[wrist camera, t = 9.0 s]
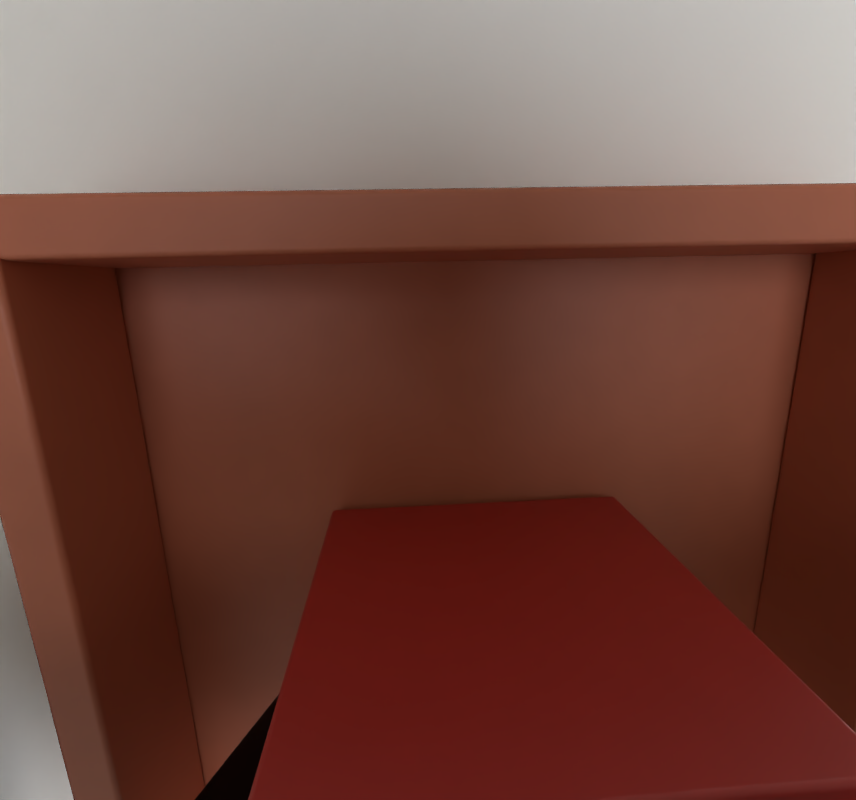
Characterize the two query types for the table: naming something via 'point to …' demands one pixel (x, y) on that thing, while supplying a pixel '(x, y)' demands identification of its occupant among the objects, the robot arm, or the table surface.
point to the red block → (534, 669)
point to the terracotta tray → (402, 419)
